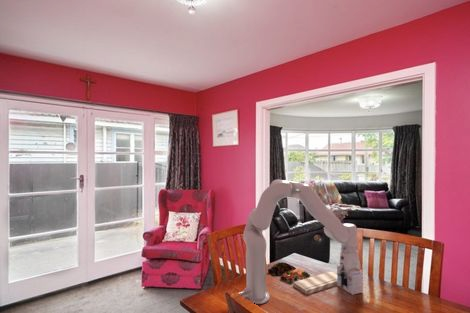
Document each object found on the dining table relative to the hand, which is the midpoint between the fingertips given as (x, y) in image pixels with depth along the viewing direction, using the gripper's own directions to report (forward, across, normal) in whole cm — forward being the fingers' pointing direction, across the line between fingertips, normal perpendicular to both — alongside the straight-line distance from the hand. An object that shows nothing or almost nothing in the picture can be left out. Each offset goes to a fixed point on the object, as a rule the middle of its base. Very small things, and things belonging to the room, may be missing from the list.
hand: (349, 283), depth 131 cm
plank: (+3, -9, +11) cm, 15 cm away
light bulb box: (+3, 0, 0) cm, 3 cm away
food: (+4, -16, +30) cm, 34 cm away
